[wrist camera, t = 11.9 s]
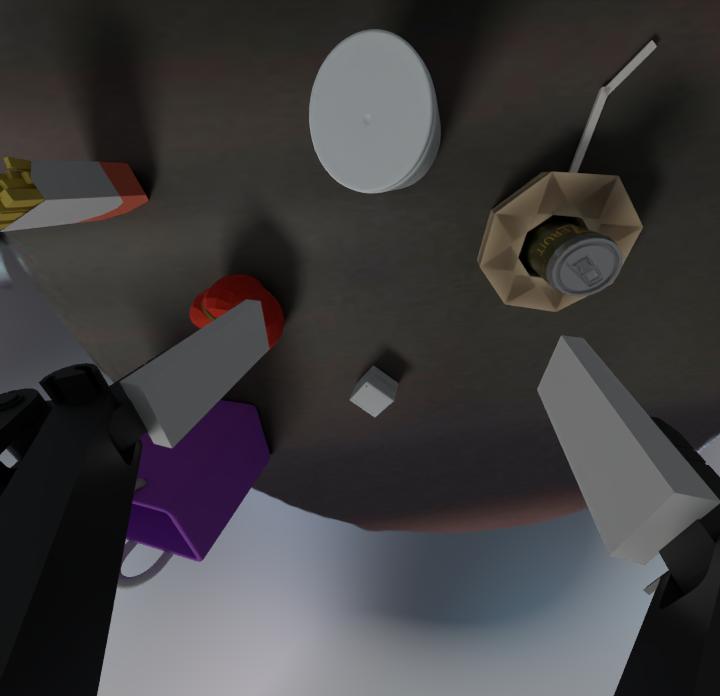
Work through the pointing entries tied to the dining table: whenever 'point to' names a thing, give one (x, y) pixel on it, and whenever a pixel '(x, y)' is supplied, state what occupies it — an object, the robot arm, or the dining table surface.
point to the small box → (374, 391)
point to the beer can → (572, 257)
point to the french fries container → (65, 192)
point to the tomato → (232, 294)
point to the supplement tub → (374, 113)
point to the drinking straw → (601, 101)
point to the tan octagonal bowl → (533, 206)
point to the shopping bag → (194, 485)
